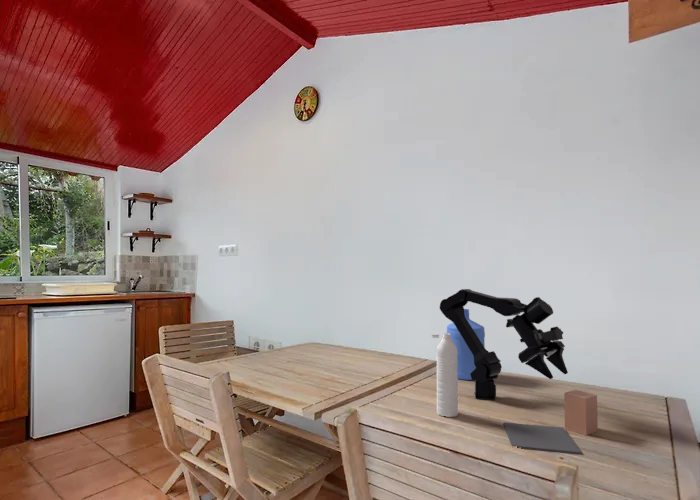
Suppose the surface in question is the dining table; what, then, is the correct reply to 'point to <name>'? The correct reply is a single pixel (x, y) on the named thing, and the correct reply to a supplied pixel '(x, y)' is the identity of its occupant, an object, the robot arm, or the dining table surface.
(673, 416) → the dining table surface
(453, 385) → the water bottle
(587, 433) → the pink upright block
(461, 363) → the water jug
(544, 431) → the charcoal mat
